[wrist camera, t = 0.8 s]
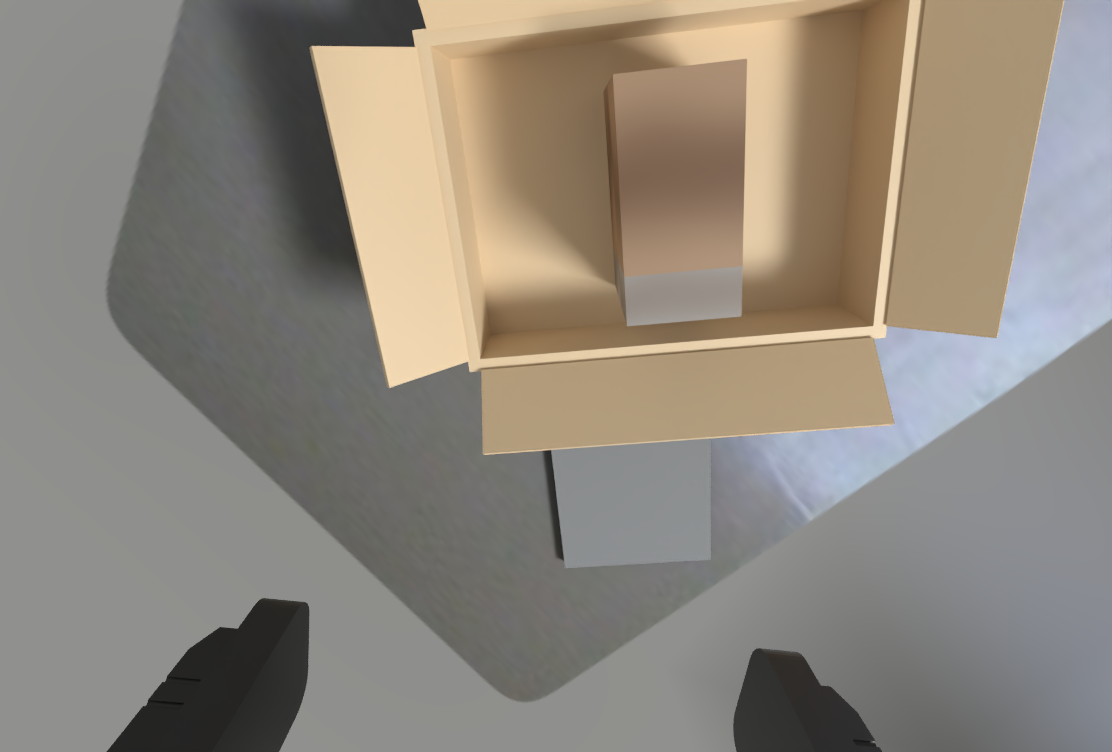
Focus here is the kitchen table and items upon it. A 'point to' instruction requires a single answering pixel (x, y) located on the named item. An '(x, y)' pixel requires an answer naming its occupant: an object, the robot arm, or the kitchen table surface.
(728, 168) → the tan rectangular block
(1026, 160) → the carton
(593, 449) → the mat
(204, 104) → the kitchen table surface
